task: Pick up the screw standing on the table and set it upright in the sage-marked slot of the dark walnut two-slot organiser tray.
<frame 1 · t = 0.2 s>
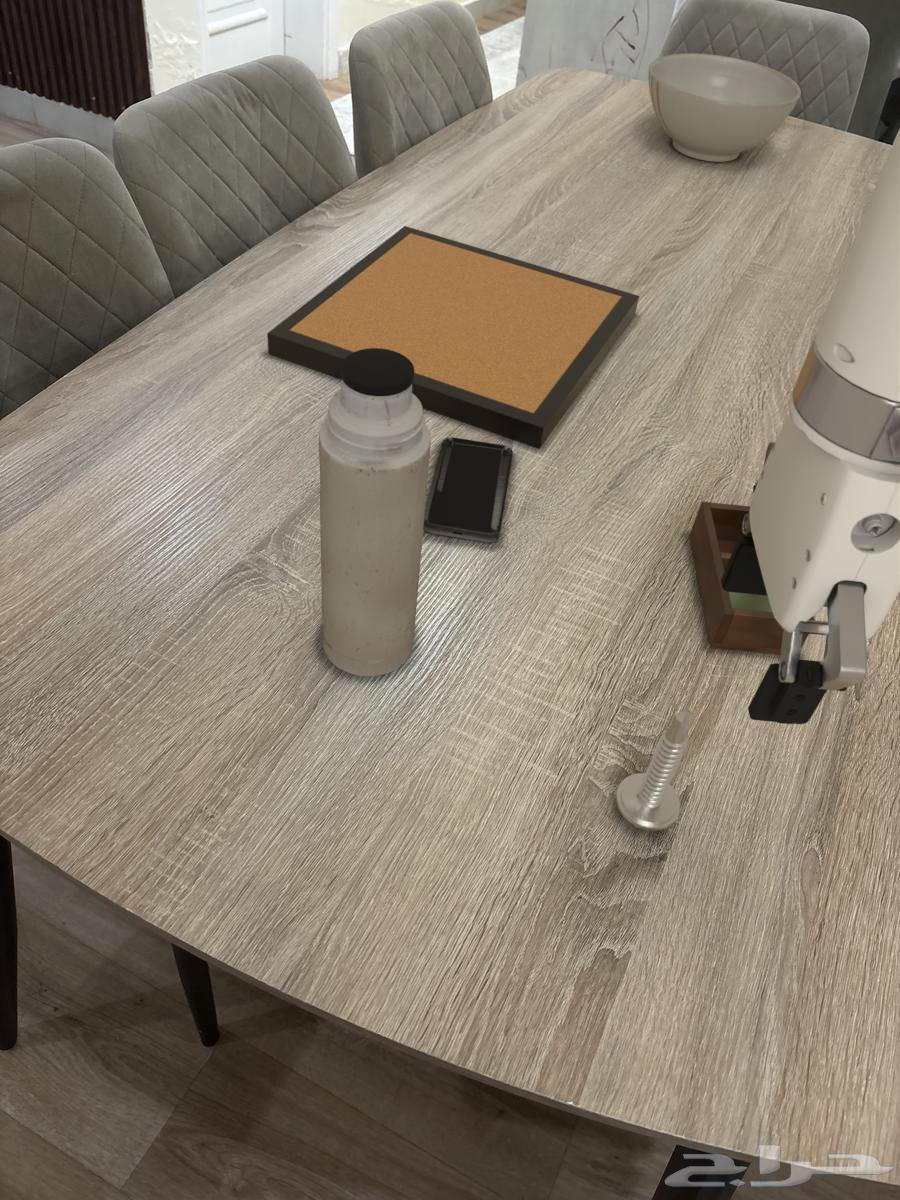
hand: (760, 649, 54), 23 cm above the table, tool pointing down, fingers open, 9 cm apart
decorative bowl: (705, 150, 174), on the table
organiser: (740, 592, 91), on the table
screw: (641, 816, 73), on the table
thermos bottle: (368, 643, 83), on the table
phone: (468, 493, 98), on the table
cork board: (462, 334, 121), on the table
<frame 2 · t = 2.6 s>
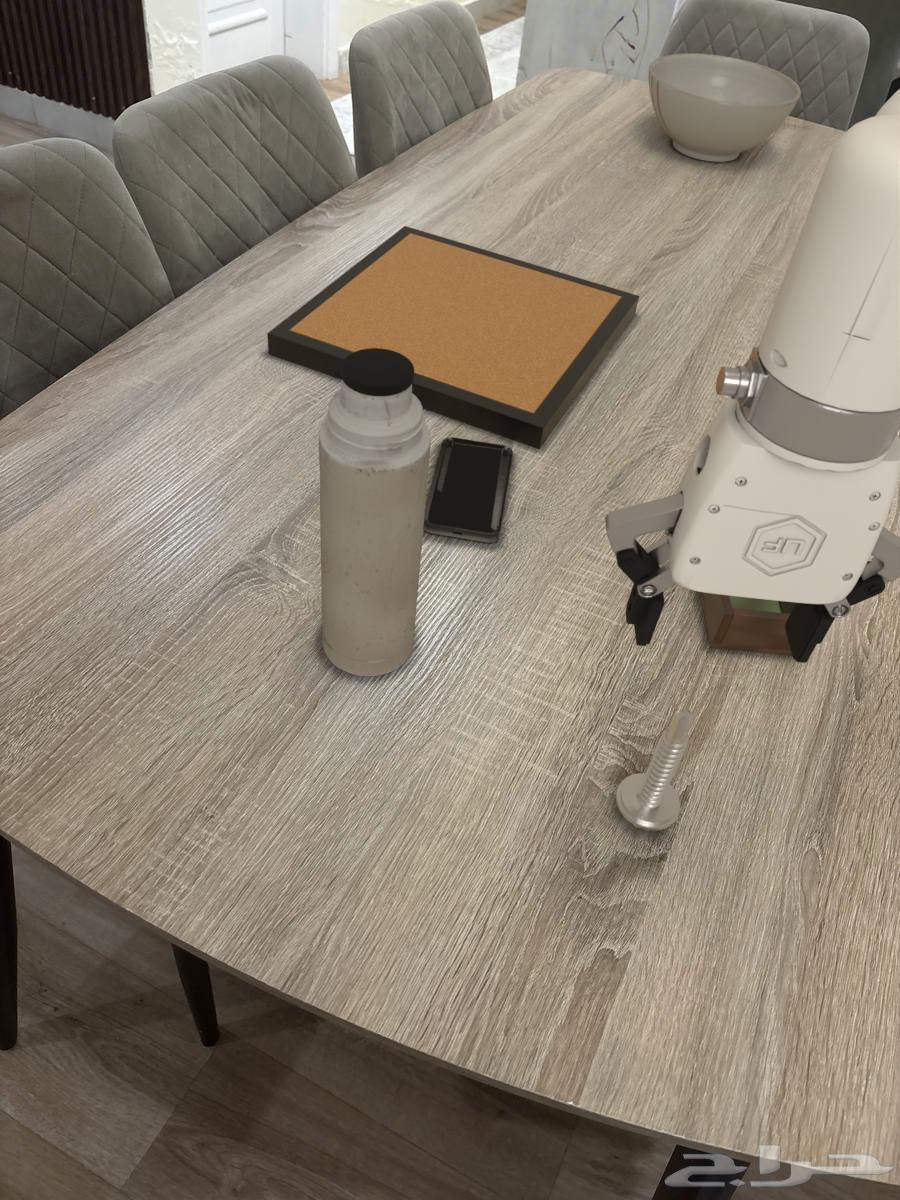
hand: (717, 637, 58), 21 cm above the table, tool pointing down, fingers open, 9 cm apart
nothing on the table moved.
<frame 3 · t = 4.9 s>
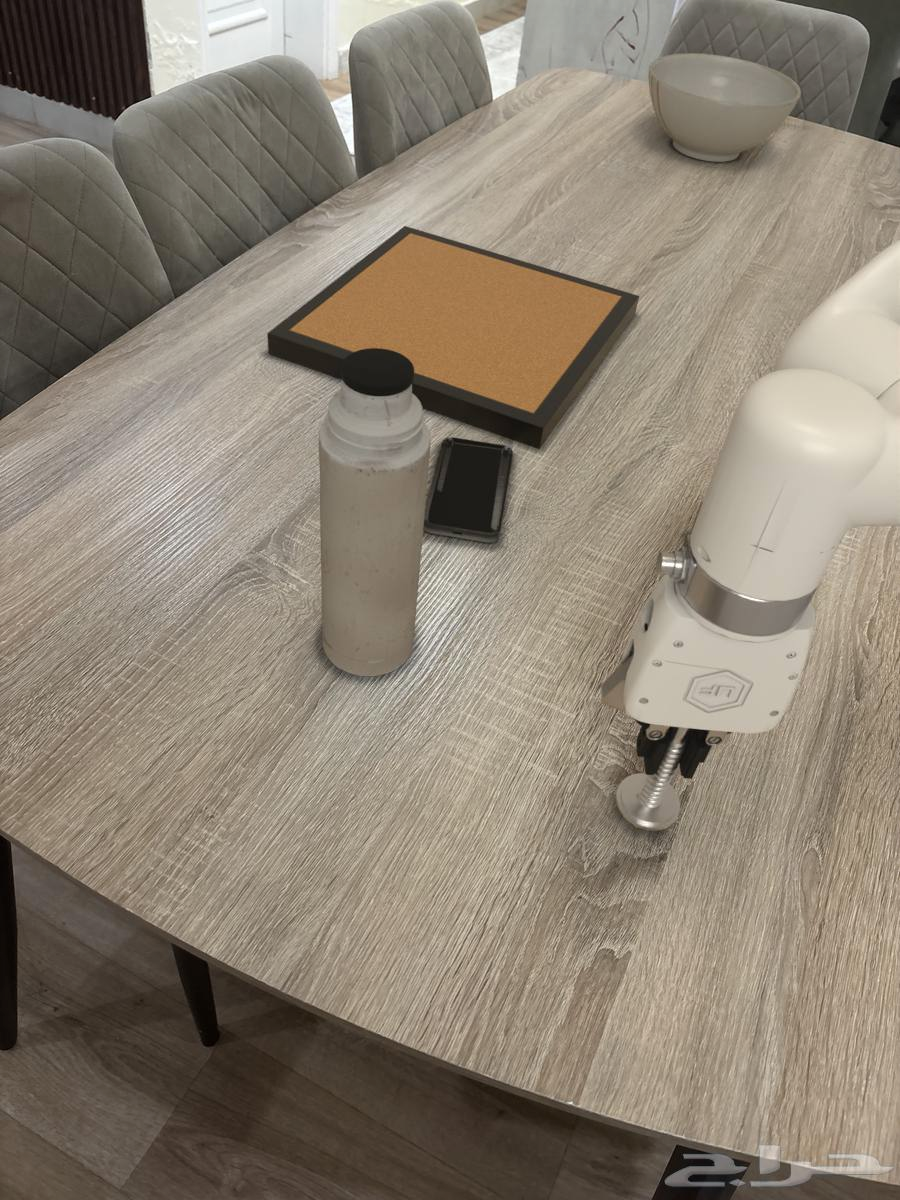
hand: (666, 758, 67), 8 cm above the table, tool pointing down, fingers closed on screw, 2 cm apart
screw: (641, 816, 73), on the table, touching gripper
everything else where it was.
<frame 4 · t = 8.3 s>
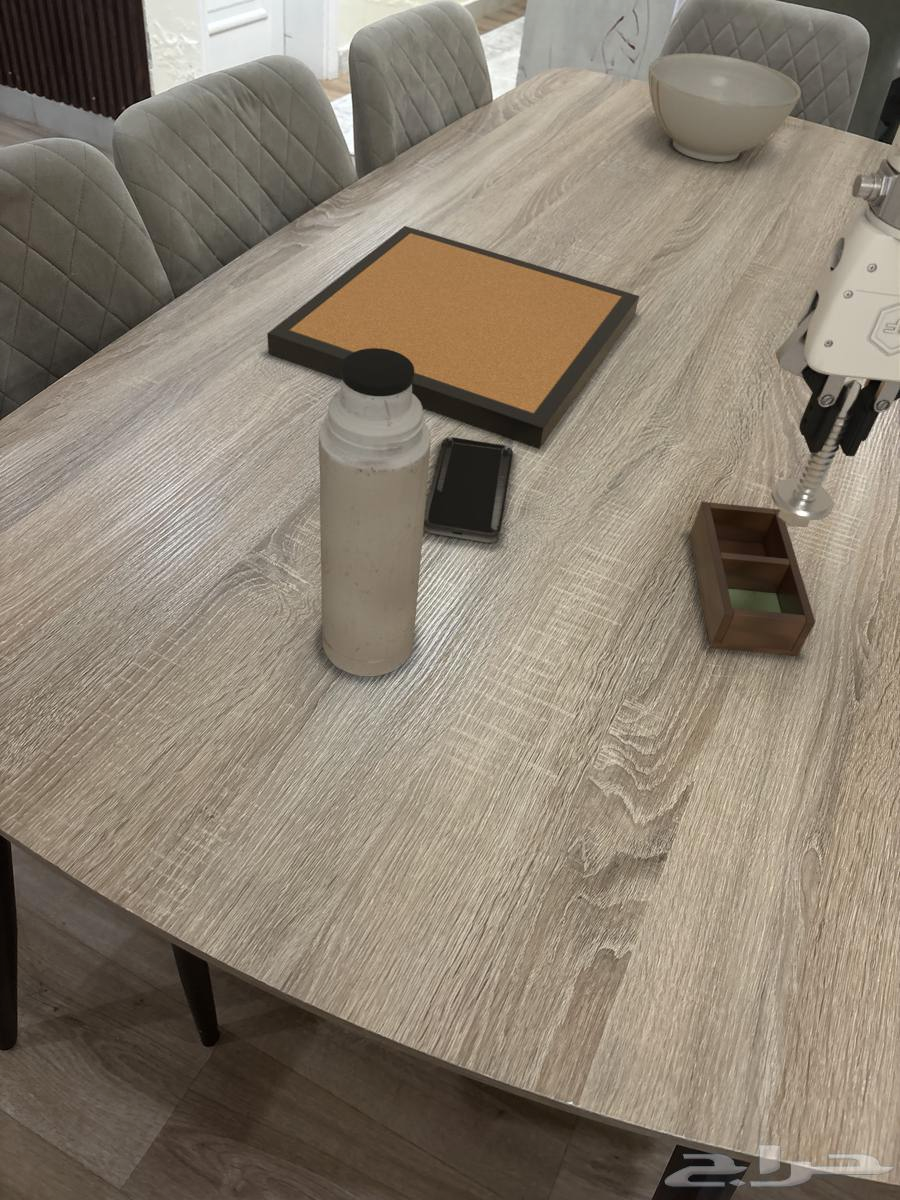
hand: (827, 442, 71), 22 cm above the table, tool pointing down, fingers closed on screw
screw: (793, 519, 77), point 14 cm above the table, touching gripper
everything else where it was.
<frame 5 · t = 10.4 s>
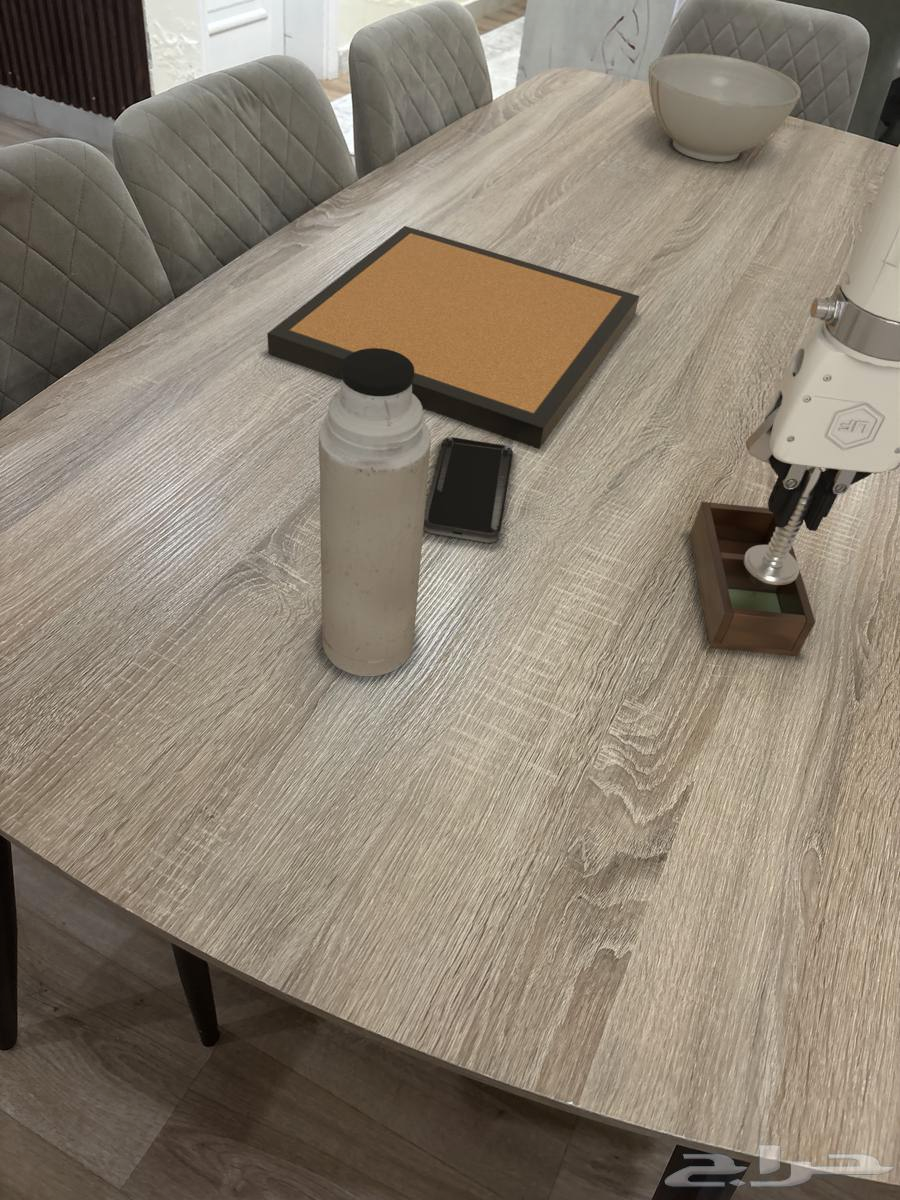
hand: (793, 517, 79), 13 cm above the table, tool pointing down, fingers closed on screw
screw: (763, 581, 85), point 5 cm above the table, touching gripper
everything else where it was.
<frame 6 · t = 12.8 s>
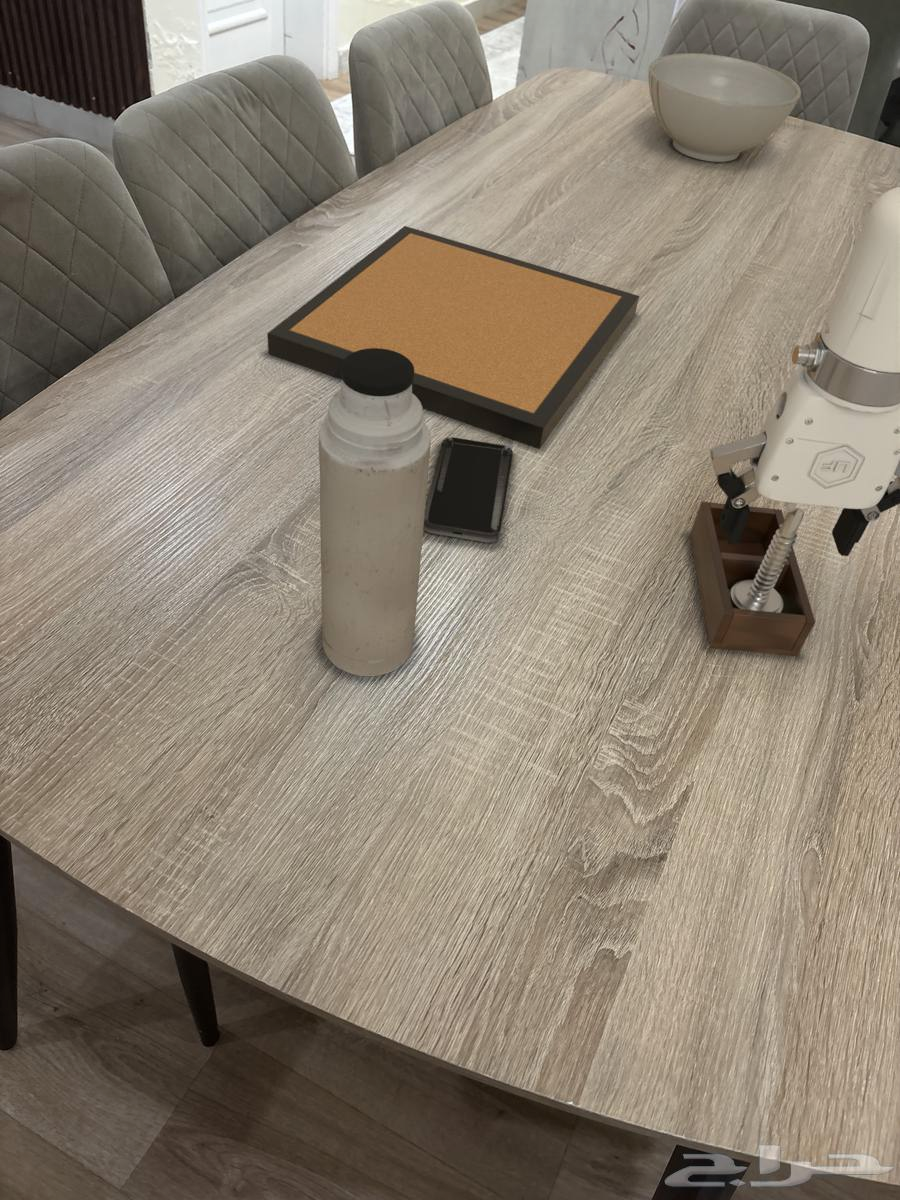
hand: (784, 539, 81), 10 cm above the table, tool pointing down, fingers open, 9 cm apart
screw: (749, 615, 88), point 1 cm above the table, touching organiser
everything else where it was.
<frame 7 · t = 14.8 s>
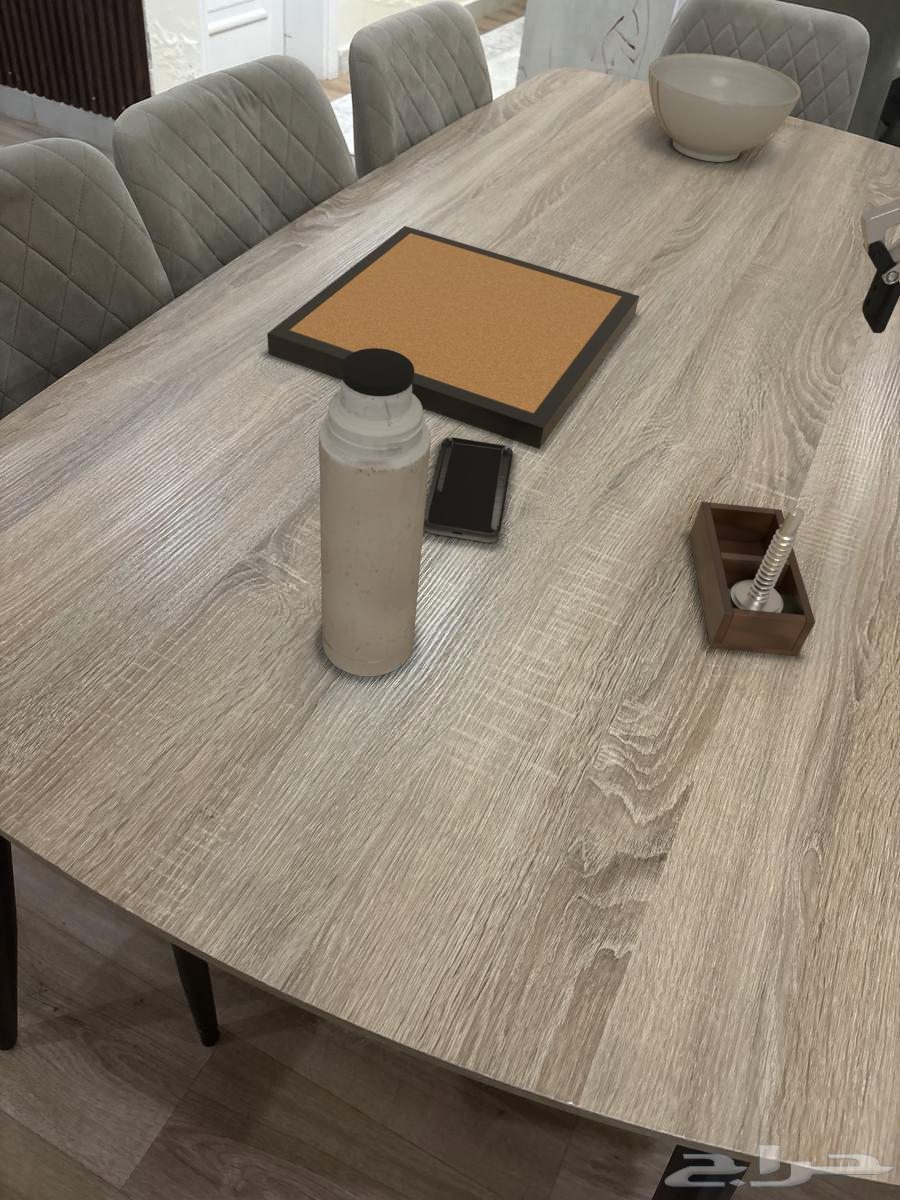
nothing on the table moved.
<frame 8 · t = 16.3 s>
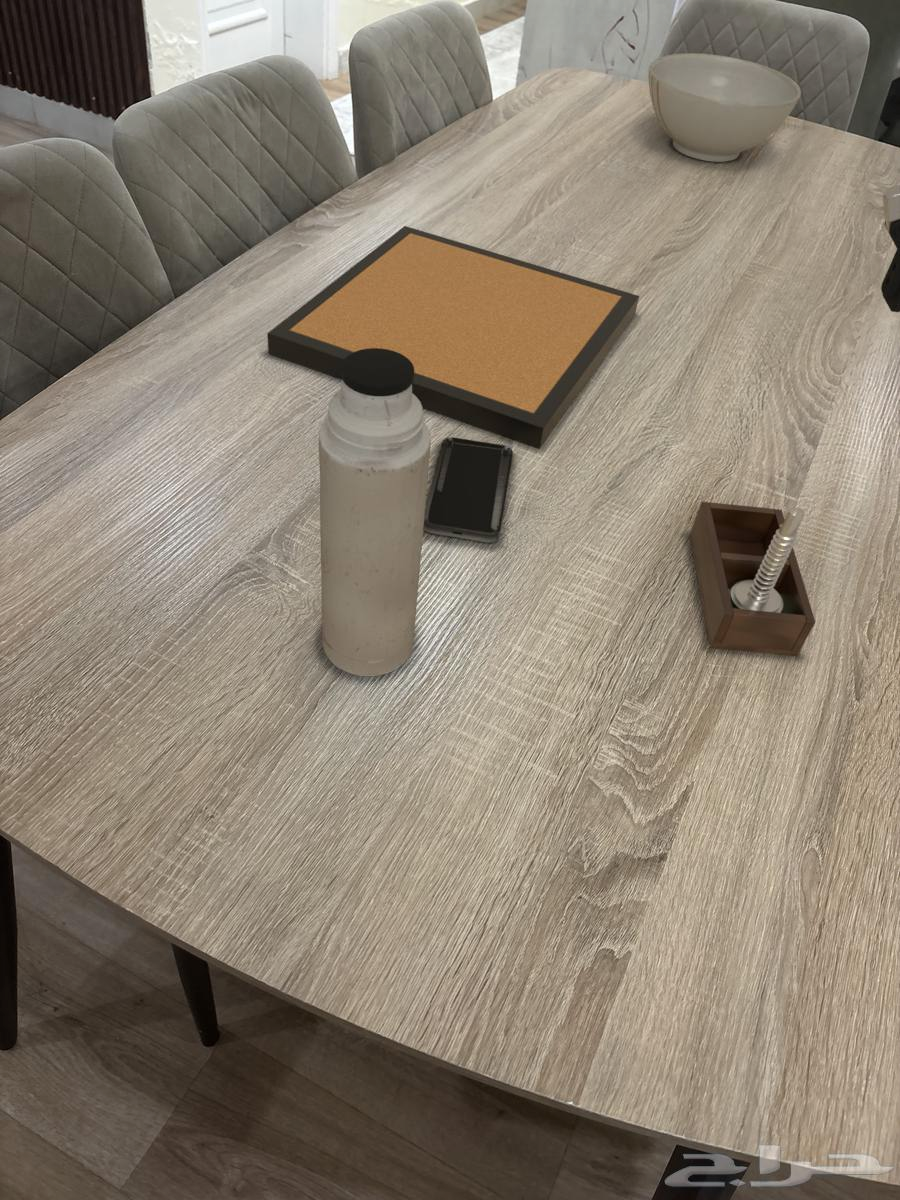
nothing on the table moved.
at the end: screw 0.1 cm from the target spot in the organiser, point 0.6 cm above the organiser's base; screw tilted 0° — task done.
